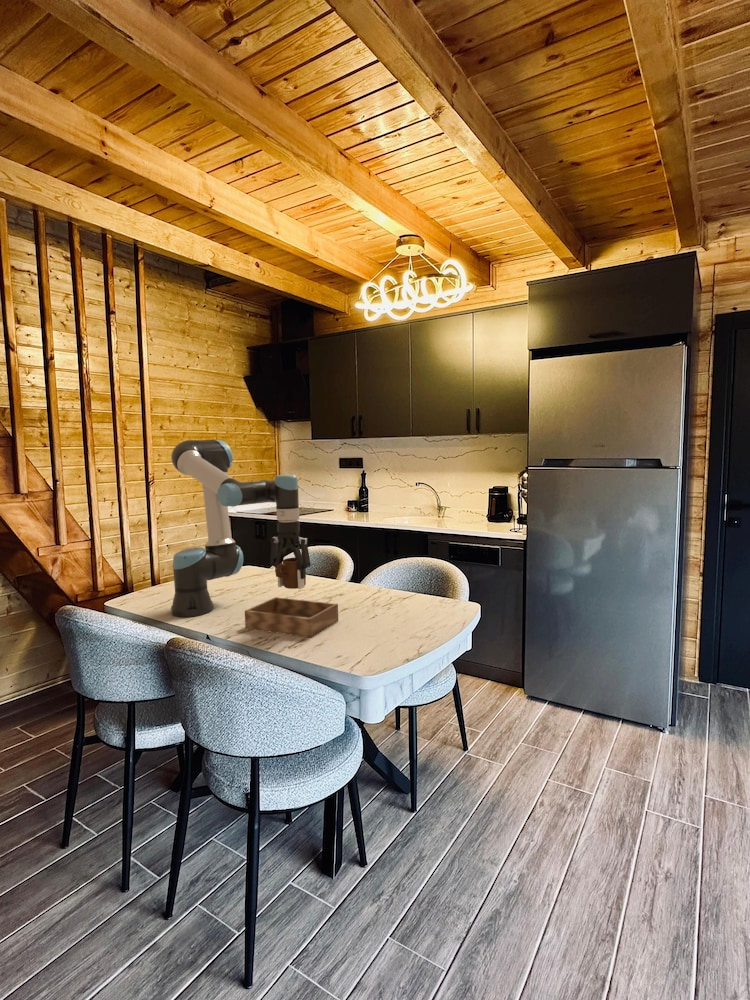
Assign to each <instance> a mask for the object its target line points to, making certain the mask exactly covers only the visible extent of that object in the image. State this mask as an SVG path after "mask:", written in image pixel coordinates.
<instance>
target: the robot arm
mask: <svg viewBox="0 0 750 1000" xmlns="http://www.w3.org/2000/svg"><path fill="white" fill-rule="evenodd" d="M231 449H232V448H231V447H230V446H229V444H228V443H227V442H225V441H224V440H221V439H219V440H218V439H198V440H197V439H195V440H194V439H191V440H190V439H188V440H187V439H186V440H183V441H181V442H179V443H178V444H177V445H175V447H174V448H173V449H172V452H171V455H170V456H171V463H172V465H173V467H174V468H175V469H176V470H177V471H178V472H179V473H181V474H183V475H185V476H190V477H192V478H193V479H194V480H196V481H198V482H199V483H201V484H202V491H203V493H202V494H203V501H204V512H205V513H204V514H205V521H206V530H207V531H206V532H207V538H208V540H207V541H206V543H205V544H204V547H205V548H204V547H201V546H200V547H199V546H197V547H191V548H186V549H183V550H179V551H178V552H176V553H175V554H174V556H173V558H172V559H173V560H172V568H173V569H172V570H173V583H174V585H173V586H174V594H173V600H172V605H171V607H170V613H171V615H172V616H175V617H178V616H179V618H189V617H198V616H202V615H206V614H208V613H210V612H212V611H213V610H214V602H213V600H212V598H211V595H210V593H209V590H208V581H213V580H216V579H220V578H224V577H225V578H228V577H231V576H233V575H236V574H238V573H239V572H240V571H241V570H242V568H243V563H244V553H243V550H242V549H241V547H240V546H239V545H237V544H236V541H235V540H234V539H233V538H232V534H231V527H230V518H229V517H230V516H229V507H232V508H233V507H237V506H245V505H246V506H247V505H254V504H255V505H256V504H266V503H276V504H275V505H276V507H275V509H276V520H277V522H276V525H277V526H276V530H277V533H278V535H277V536H273V537H270V543H271V545H270V546H271V548H270V559H269V561H270V563H269V565H270V566H271V567H274V568H276V566H277V565H278V564H280V563H283V560H284V559H285V555H286V552H287V550H288V549H290V550H291V552H293V555H294V558H296V561H297V564H298V566H299V569H298V570H297V572H298V588H297V589H298V590H301V589H304V588H305V586H304V579H305V578H306V577H307V573H306V570H307V568H310V567H311V559H310V553H309V546H308V544H309V539H308V537H301V534H300V530H301V528H300V525H301V524H300V521H299V520H300V508H299V503H300V501H299V484H298V483H299V482H298V477H297V476H296V475H295V474H281V475H280V474H278V475H275V477H274V480H268V479H263V480H262V479H261V480H257V481H246V482H245V481H244V482H241V481H239V480H238V479H236V478H234V477H232V476H231V475H229V469H230V468H232V465H233V461H234V457H233V452H232V450H231ZM280 572H281V573H283V568H280ZM275 577H276V578H277V587H278V588H282V587H284V581H283V578H279V577H278V576H277V575H276V574H275Z"/></svg>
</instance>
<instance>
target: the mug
mask: <svg viewBox="0 0 750 1000" xmlns="http://www.w3.org/2000/svg"><path fill="white" fill-rule="evenodd" d="M274 568H275V567H274ZM280 568H283V573H281V572H280ZM298 569H299V566H298V564H297V561H296V558H295V557H289V558H284V559H283V562H282V563H280V564H278V565H277V566H276V568H275V569H274V572H275V576H276V575H277V576H278V577H279V578H283V581H284V586H283V587H284V588H285V589H288V590H295V589H298V572H297V570H298ZM278 577H277V578H278ZM306 581H307V580H306V578H305V579H304V587H305V586H306V584H307V583H306Z"/></svg>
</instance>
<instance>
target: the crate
mask: <svg viewBox="0 0 750 1000" xmlns="http://www.w3.org/2000/svg"><path fill="white" fill-rule="evenodd" d="M290 614H296V615H304V616H312V617H310V618H306V617H298V616H289V615H290ZM338 621H339V604H338V603H332V602H323V601H322V602H321V601H314V600H304V599H297V598H296V599H295V598H288V597H287V598H286V597H279V596H278V597H277V596H276V597H273V598H271V599H268V600H266V601H264V602H262V603H260V604H258V605H255V606H253V607H250V608H248V609H246V610H244V623H245V626H244V627H245V629H247V628H248V629H247V630H254V629H256V630H257V631H261V630H264V631H263V632H268V631H271V632H270V633H275V632H278V633H277V634H282V633H285V634H284V635H289V634H292V635H291V636H296V635H300V636H299V637H303V636H307V637H306V638H310V637H311V638H313V637H315V636H316V635H318V634H320V633H321V632H323V631H325V630H326V629H327V627H328V628H329V627H331V626H333V625H334V624H336V623H338ZM325 628H326V629H325ZM256 630H255V631H256ZM322 630H323V631H322ZM319 632H320V633H319ZM317 633H318V634H317ZM314 635H315V636H314ZM312 636H313V637H312Z"/></svg>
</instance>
